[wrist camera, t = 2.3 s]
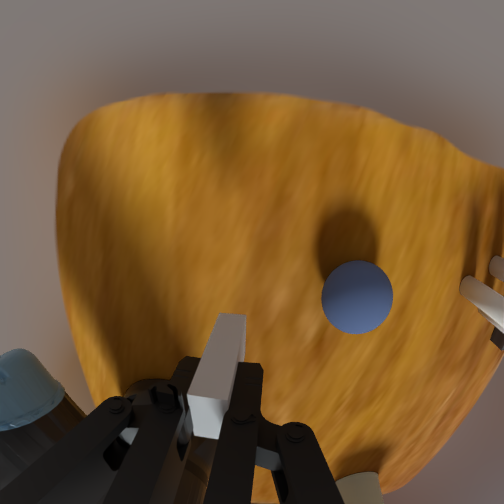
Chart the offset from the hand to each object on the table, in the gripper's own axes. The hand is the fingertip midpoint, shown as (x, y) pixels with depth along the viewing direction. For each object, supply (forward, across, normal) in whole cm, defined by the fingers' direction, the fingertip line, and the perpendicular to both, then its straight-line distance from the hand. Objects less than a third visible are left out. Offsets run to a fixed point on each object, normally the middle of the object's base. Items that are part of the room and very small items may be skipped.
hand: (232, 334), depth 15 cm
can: (+10, -21, +41) cm, 47 cm away
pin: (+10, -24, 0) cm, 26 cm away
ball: (+7, -9, 0) cm, 11 cm away
